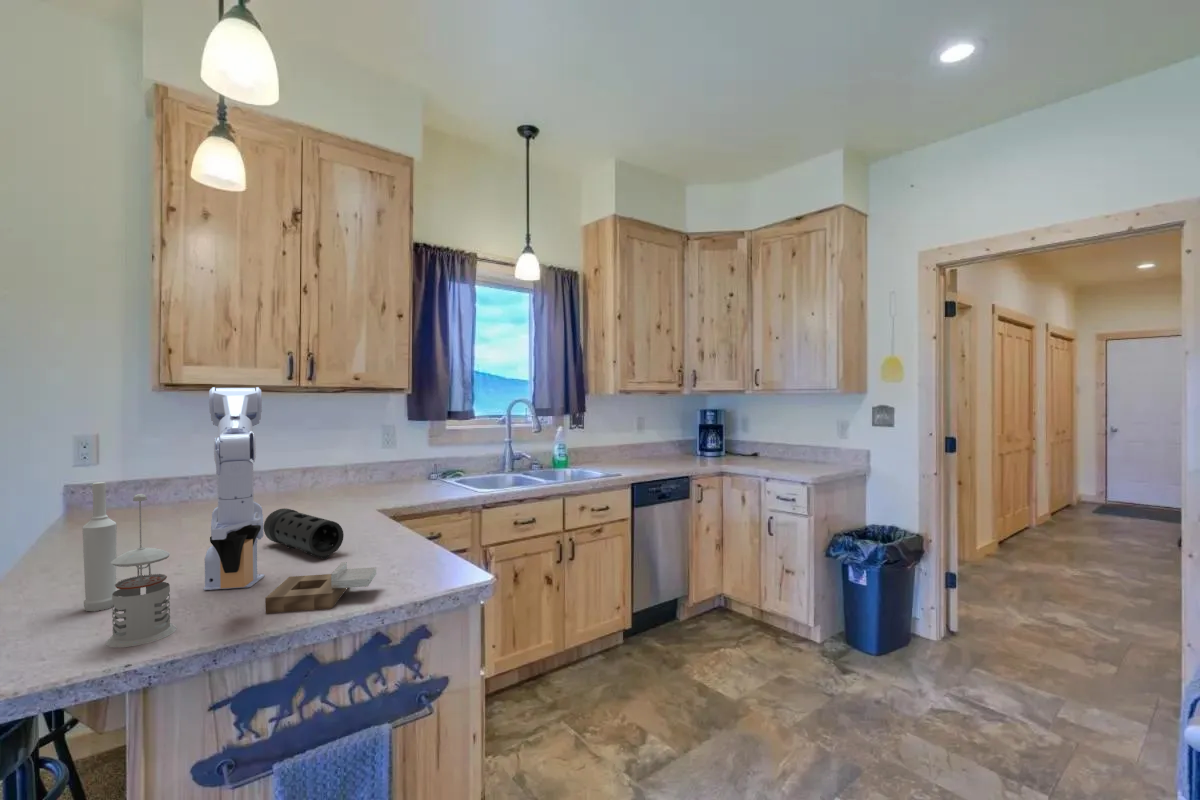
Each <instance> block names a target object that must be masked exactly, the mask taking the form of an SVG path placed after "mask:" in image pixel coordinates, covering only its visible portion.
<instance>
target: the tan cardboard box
mask: <svg viewBox="0 0 1200 800" xmlns="http://www.w3.org/2000/svg"><path fill="white" fill-rule="evenodd" d="M251 581H253V539H245V542H244V544H243V547H242V551H241V559H240V566H239V570H238V572H235V573H225V572H224V570H223V567H222V563H221V560H220V588H229V589H237V588H236V587H245V586H246V585H247V584H249V583H250V582H251ZM245 588H246V587H245Z"/></svg>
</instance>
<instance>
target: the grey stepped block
mask: <svg viewBox="0 0 1200 800" xmlns="http://www.w3.org/2000/svg"><path fill="white" fill-rule="evenodd" d="M330 574H331V589H335V588H347V589H348V588H363V587H369V586H370V584H371V583H372V581H373V579H375V577H376V575H377V567H376V566H373V567H371V566H370V567H357V568H355V567H354V568H348V565H347V561H343V562H340V564H339V565H337V567H336V568H335V569H334V570H333V571H332V573H330Z"/></svg>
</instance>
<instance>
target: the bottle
mask: <svg viewBox="0 0 1200 800" xmlns="http://www.w3.org/2000/svg"><path fill="white" fill-rule="evenodd" d="M91 485H92V487H91V488H92V516H91V517H90V520H89V521H88V522H86V523H85V524H84V525H83V526H82V528H81V529H82V546H83V547H82V548H83V550H82V551H83V572H84V592H85V593H84V596H85V597H84V598H85V599H84V600H83V609H84V611H85V610H86V611H85V612H87V611H94V612H100V611H99V610H101V611H105V610H108V608H109V609H112V605H113V603H112V594H113V593H114V592H115V591H117V588H116V587H115V584H116V583H117V566H114V565H113V564H112V563H111V561H113V560H114V559H115V558H117V532H118V531H117V526H118V525H117V522H116V521H114V520H113V519H111V518H110V517H109V515H107V501H106V500H107V496H106V495H107V482H106V481H98V482H93V483H92V484H91ZM104 609H105V610H104Z"/></svg>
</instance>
